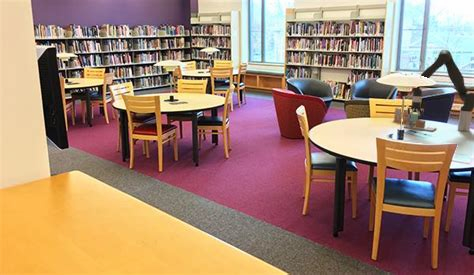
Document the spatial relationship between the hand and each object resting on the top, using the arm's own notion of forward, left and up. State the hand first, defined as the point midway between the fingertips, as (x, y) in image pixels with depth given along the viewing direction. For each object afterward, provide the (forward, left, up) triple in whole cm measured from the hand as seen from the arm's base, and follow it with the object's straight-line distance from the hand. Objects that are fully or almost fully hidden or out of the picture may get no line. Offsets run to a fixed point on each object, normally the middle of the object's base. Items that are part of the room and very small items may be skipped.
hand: (414, 119), depth 374 cm
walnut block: (+11, +8, -4) cm, 14 cm away
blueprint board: (+11, +8, -6) cm, 15 cm away
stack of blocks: (-12, -11, -6) cm, 17 cm away
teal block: (0, 0, -1) cm, 1 cm away
